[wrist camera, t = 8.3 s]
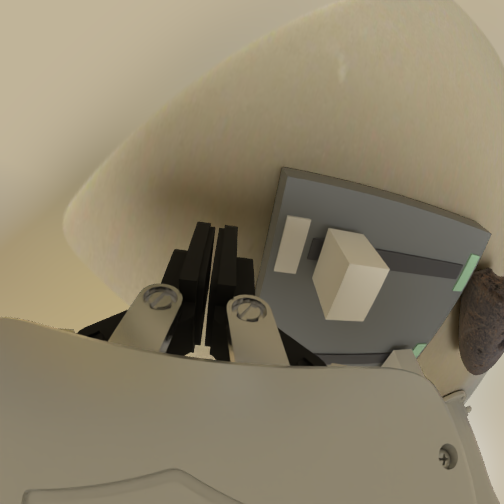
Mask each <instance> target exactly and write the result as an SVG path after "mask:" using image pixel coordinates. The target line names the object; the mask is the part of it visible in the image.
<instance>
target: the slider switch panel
mask: <svg viewBox="0 0 504 504" xmlns="http://www.w3.org/2000/svg"><path fill="white" fill-rule="evenodd" d="M328 228H332V229H337V230H343V231H348V232H354V233H359V234H364V236H365V237H366V238H367V239H368V241H369V242H370V243H371V245H372V246H373V247H374V249H375V250H376V251H377V253H378V254H379V255H380V257H381V258H382V259H383V261H384V262H385V263H386V265H387V266H388V268H389V269H390V270H389V272H388V274H387V276H386V278H385V280H384V283H383V285H382V287H381V289H380V291H379V293H378V295H377V297H376V299H375V300H374V302H373V304H372V306H371V308H370V310H369V312H368V314H367V316H366V317H365V319H364V321H342V320H326V319H325V316H324V313H323V310H322V307H321V304H320V301H319V297H318V294H317V291H316V288H315V285H314V282H313V279H312V277H313V274H314V271H315V268H316V265H317V262H318V259H319V256H320V253H321V250H322V247H323V244H324V241H325V238H326V235H327V231H328ZM490 236H491V233H490V232H489V231H487V230H486V229H485V228H483V227H482V226H481V225H480V224H478V223H477V222H475V221H473V220H470V219H468V218H465V217H462V216H460V215H457V214H454V213H452V212H449V211H446V210H443V209H441V208H438V207H435V206H432V205H429V204H426V203H423V202H420V201H417V200H414V199H411V198H407V197H404V196H401V195H398V194H394V193H391V192H387V191H384V190H380V189H377V188H373V187H369V186H366V185H362V184H358V183H354V182H350V181H346V180H342V179H338V178H334V177H329V176H325V175H320V174H316V173H311V172H306V171H301V170H296V169H291V168H286V167H282V170H281V175H280V180H279V184H278V189H277V194H276V198H275V203H274V208H273V212H272V217H271V221H270V226H269V231H268V235H267V240H266V244H265V249H264V253H263V258H262V262H261V267H260V271H259V276H258V280H257V285H256V289H255V296H256V297H259V298H261V299H262V300H264V301H265V302H266V303H267V304H269V306H270V308H271V310H272V313H273V316H274V319H275V322H276V325H277V327H278V328H279V329H280V330H282V331H283V332H285V333H286V334H287V335H289V336H290V337H291V338H293V339H294V340H296V341H297V342H298V343H300V344H301V345H303V346H304V347H305V348H307V349H308V350H310V351H311V352H312V353H314V354H315V355H317V356H318V357H319V358H321V359H322V360H323V361H324V362H325V364H326V365H329V366H330V365H331V363H336V364H341V365H347V366H378V367H381V366H382V365H383V364H384V362H385V361H386V360H387V358H388V357H389V356H390V354H391V353H392V351H393V350H403V349H412V351H413V353H414V355H415V357H416V359H417V358H418V357H419V355H420V354H421V353H422V351H423V350H424V349H425V347H426V346H427V345H428V343H429V342H430V341H431V339H432V338H433V337H434V335H435V334H436V332H437V331H438V330H439V328H440V327H441V325H442V324H443V322H444V321H445V319H446V318H447V316H448V315H449V313H450V312H451V310H452V308H453V307H454V305H455V304H456V302H457V300H458V299H459V297H460V295H461V294H462V292H463V290H464V288H465V287H466V285H467V283H468V281H469V279H470V278H471V276H472V274H473V272H474V270H475V268H476V266H477V264H478V262H479V260H480V258H481V256H482V254H483V252H484V250H485V248H486V245H487V243H488V241H489V239H490Z"/></svg>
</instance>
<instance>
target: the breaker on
mask: <svg viewBox="0 0 504 504" xmlns="http://www.w3.org/2000/svg"><path fill="white" fill-rule="evenodd" d="M381 367H391V368H398V369H404V370H407V371H411V372H414V373H417V374H419V375H421V376H423V377H425V376H424V374H423V372H422V370H421V368H420V366H419V363H418V361H417V359H416V357H415V355H414V353H413V351H412V349H403V350H393V351H392V353H391V354H390V356H389V357H388V358H387V360H386V361H385V362H384V364H383V365H382V366H381Z"/></svg>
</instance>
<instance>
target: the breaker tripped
mask: <svg viewBox="0 0 504 504" xmlns="http://www.w3.org/2000/svg"><path fill="white" fill-rule="evenodd" d="M389 270H390V269H389V268H388V266H387V265H386V263H385V262H384V261H383V259H382V258H381V257H380V255H379V254H378V253H377V251H376V250H375V249H374V247H373V246H372V245H371V243H370V242H369V241H368V239H367V238H366V237H365V236H364V234H359V233H354V232H348V231H343V230H337V229H332V228H328V231H327V235H326V238H325V241H324V244H323V247H322V250H321V253H320V256H319V259H318V262H317V265H316V268H315V271H314V274H313V277H312V279H313V282H314V285H315V288H316V291H317V294H318V297H319V301H320V304H321V307H322V310H323V313H324V316H325V319H326V320H342V321H364V319H365V317H366V316H367V314H368V312H369V310H370V308H371V306H372V304H373V302H374V300H375V299H376V297H377V295H378V293H379V291H380V289H381V287H382V285H383V283H384V280H385V278H386V276H387V274H388V272H389Z"/></svg>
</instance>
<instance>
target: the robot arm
mask: <svg viewBox="0 0 504 504" xmlns="http://www.w3.org/2000/svg"><path fill="white" fill-rule="evenodd" d="M237 234H238V227H235V226H227V225H225V228H219V233H218V239H217V245H216V251H215V257H214V263H213V269H212V276H211V283H210V292H209V302H208V313H207V325H206V337H205V346H210V355H212V356H213V357H214V358H215V359H216V360H211V359H202V358H195V357H187V356H185V355H186V354H188V353H190V352H192V353H194V348H195V345H200V344H201V337H202V329H203V322H204V315H205V308H206V302H207V295H208V289H209V281H210V271H211V262H212V252H213V243H214V235H215V227H211V223H204V222H197V225H196V228H195V231H194V234H193V237H192V240H191V243H190V246H189V249H188V251H186V250H178V249H175V250H174V251H173V254H172V256H171V259H170V261H169V264H168V266H167V269H166V271H165V274H164V277H163V279H162V282H161V284H153V285H149V286H147V287H145V288H144V289H143V290H142V291H141V292H140V293H139V295H138V296H137V297H136V299H135V300H134V302H133V303H132V305H131V306H130V308H129V309H128V310H126V311H123V312H121V313H119V314H116V315H114V316H111V317H109V318H107V319H104V320H102V321H99V322H97V323H95V324H92V325H90V326H87V327H85V328H84V329H82V330H80V331H79V332H78V333H75V332H74V330H73V329H59V328H54V327H50V326H47V325H43V324H40V323H36V322H33V321H29V320H24V319H19V318H10V317H0V504H500V503H499V501H498V498H497V497H496V494H495V492H494V490H493V487H492V485H491V483H490V480H489V476H488V474H487V471H486V467H485V464H484V461H483V458H482V456H481V452H480V450H479V447H478V445H477V441H476V439H475V436H474V434H473V431H472V428H471V426H470V424H469V421H468V419H467V416H468V412H470V411H471V407H470V406H468V407H465V406H464V404H463V402H464V400H465V399H466V394H465V392H464V391H457V392H454V393H452V394H449V395H447V396H445V397H443V398H442V396H441V394H440V393H439V391H438V390H437V388H436V387H435V386H434V384H433V383H432V382H431V381H430V380H428V379H427V378H425V377H423V376H421V375H419V374H417V373H414V372H411V371H407V370H404V369H398V368H391V367H378V366H347V365H341V364H336V363H331V365H330V366H329V365H326V364H325V362H324V361H323V360H322V359H321V358H319V357H318V356H317V355H315V354H314V353H312V352H311V351H310V350H308V349H307V348H305V347H304V346H303V345H301V344H300V343H298V342H297V341H296V340H294V339H293V338H291V337H290V336H289V335H287V334H286V333H285V332H283V331H282V330H280V329H279V328H278V327H277V325H276V322H275V319H274V316H273V313H272V310H271V308H270V306H269V304H267V303H266V302H265V301H264V300H262V299H261V298H259V297H256V296H255V285H254V269H253V259H247V258H239V257H237Z"/></svg>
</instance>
